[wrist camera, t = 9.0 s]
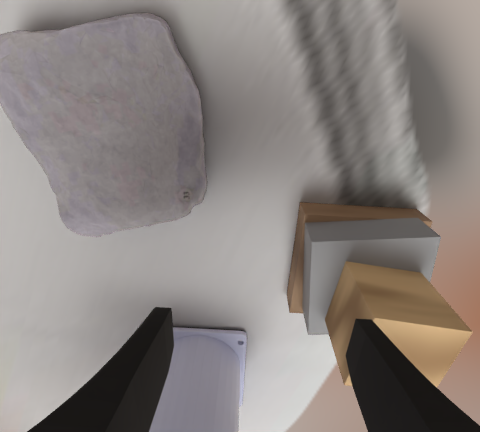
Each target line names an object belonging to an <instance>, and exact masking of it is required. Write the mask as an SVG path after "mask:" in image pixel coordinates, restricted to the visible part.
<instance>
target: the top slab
mask: <svg viewBox="0 0 480 432" xmlns="http://www.w3.org/2000/svg"><path fill="white" fill-rule="evenodd" d="M440 239H441V237H440V236H439V235H438V234H437V233H436V232H434V231H433V230H432V229H431V228H430V227H428V226H427V225H426V224H425V223H424V222H423V221H421V220H420V219H419V218H399V219H377V220H354V221H332V222H309V223H305V232H304V267H303V302H302V309H303V314H304V318H305V323H306V327H307V332H308V335H320V334H329V333H328V329H327V326H326V323H325V317H326V315H327V312H328V309H329V306H330V304H331V301H332V298H333V295H334V292H335V290H336V287H337V284H338V281H339V278H340V276H341V273H342V270H343V267H344V265H345V262H346V261H348V262H354V263H361V264H368V265H374V266H381V267H387V268H394V269H400V270H407V271H414V272H420V273H422V274H423V275H424V276H425V278H426V279H427V280H428V281H429V282H430V280H431V276H432V272H433V268H434V264H435V259H436V255H437V251H438V247H439V243H440Z"/></svg>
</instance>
